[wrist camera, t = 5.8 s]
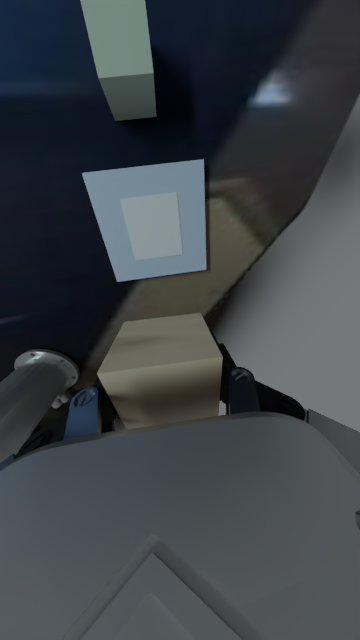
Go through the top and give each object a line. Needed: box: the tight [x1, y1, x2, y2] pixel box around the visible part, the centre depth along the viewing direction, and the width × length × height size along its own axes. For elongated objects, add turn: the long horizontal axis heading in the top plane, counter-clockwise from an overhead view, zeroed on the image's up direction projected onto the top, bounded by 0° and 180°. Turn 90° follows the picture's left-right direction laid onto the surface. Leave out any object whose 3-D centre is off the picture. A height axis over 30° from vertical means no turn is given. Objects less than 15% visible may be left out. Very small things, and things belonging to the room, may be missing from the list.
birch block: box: [97, 313, 223, 429], centre depth 10 cm, size 6×6×5 cm
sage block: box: [81, 0, 156, 121], centre depth 14 cm, size 5×5×5 cm
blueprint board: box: [82, 159, 206, 282], centre depth 22 cm, size 14×16×1 cm
